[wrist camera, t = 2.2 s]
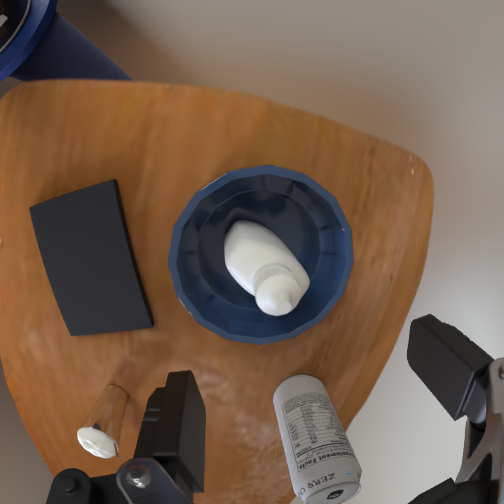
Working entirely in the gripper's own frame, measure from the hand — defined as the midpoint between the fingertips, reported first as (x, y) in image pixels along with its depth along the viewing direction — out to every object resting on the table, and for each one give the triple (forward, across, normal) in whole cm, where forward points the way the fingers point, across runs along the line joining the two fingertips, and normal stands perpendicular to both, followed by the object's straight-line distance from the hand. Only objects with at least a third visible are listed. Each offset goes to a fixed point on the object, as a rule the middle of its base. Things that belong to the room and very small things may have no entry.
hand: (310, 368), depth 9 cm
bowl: (+17, 0, 0) cm, 17 cm away
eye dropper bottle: (+17, 0, 0) cm, 17 cm away
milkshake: (+17, +19, +15) cm, 30 cm away
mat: (+17, +16, -1) cm, 23 cm away
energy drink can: (+17, -2, +18) cm, 25 cm away
